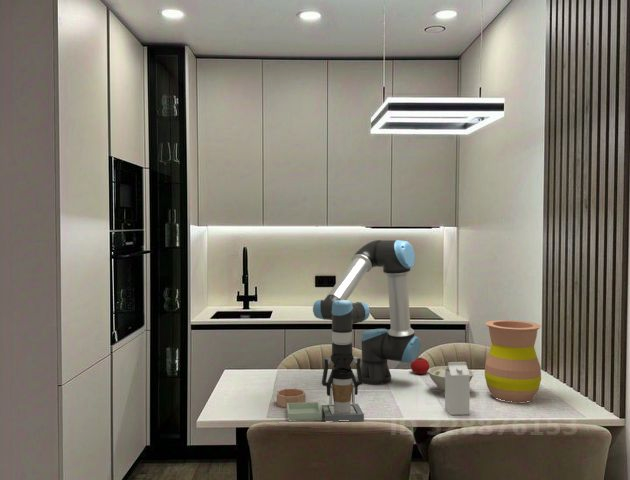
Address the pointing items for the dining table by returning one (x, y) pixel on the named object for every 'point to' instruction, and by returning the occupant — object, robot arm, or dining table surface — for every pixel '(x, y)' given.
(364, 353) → the robot arm
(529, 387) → the vase
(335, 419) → the frame
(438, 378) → the bowl
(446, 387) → the milk carton
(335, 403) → the coffee cup
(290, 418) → the green square tray
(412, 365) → the tomato
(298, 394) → the bin
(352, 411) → the plate
